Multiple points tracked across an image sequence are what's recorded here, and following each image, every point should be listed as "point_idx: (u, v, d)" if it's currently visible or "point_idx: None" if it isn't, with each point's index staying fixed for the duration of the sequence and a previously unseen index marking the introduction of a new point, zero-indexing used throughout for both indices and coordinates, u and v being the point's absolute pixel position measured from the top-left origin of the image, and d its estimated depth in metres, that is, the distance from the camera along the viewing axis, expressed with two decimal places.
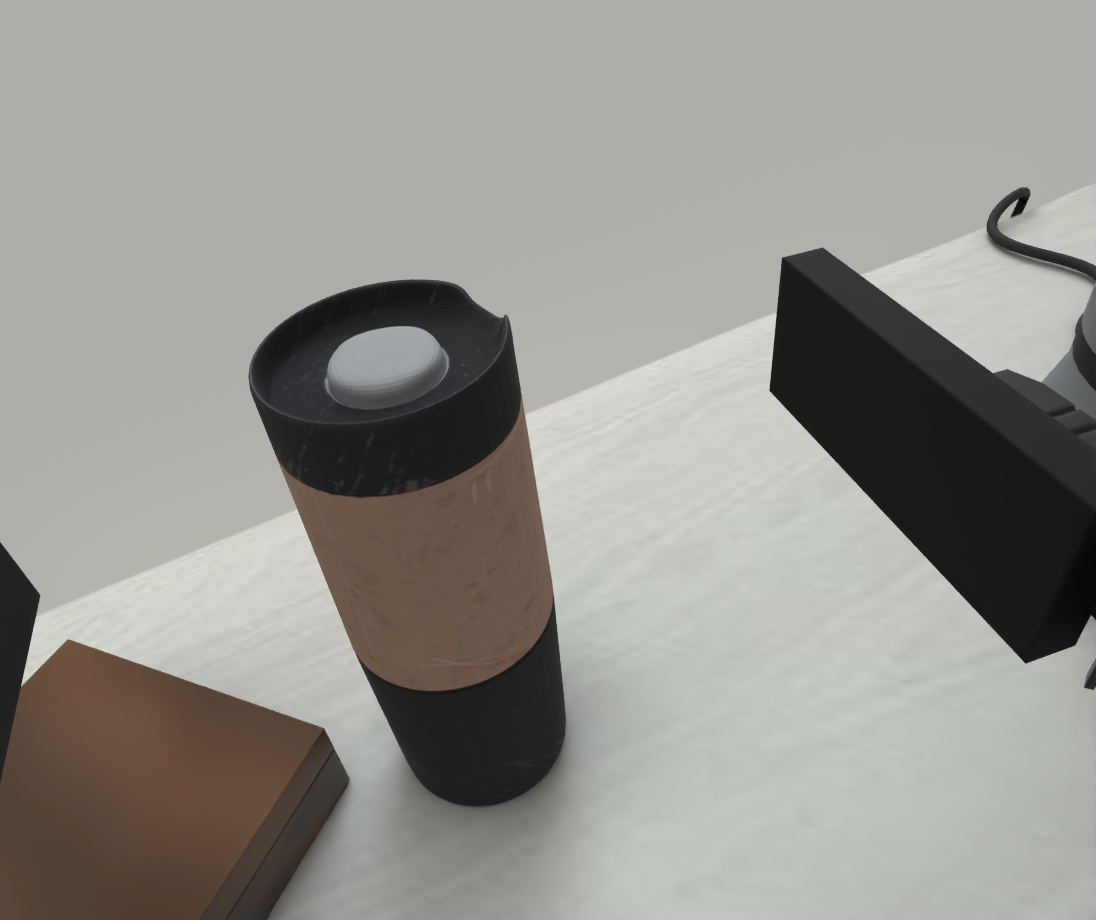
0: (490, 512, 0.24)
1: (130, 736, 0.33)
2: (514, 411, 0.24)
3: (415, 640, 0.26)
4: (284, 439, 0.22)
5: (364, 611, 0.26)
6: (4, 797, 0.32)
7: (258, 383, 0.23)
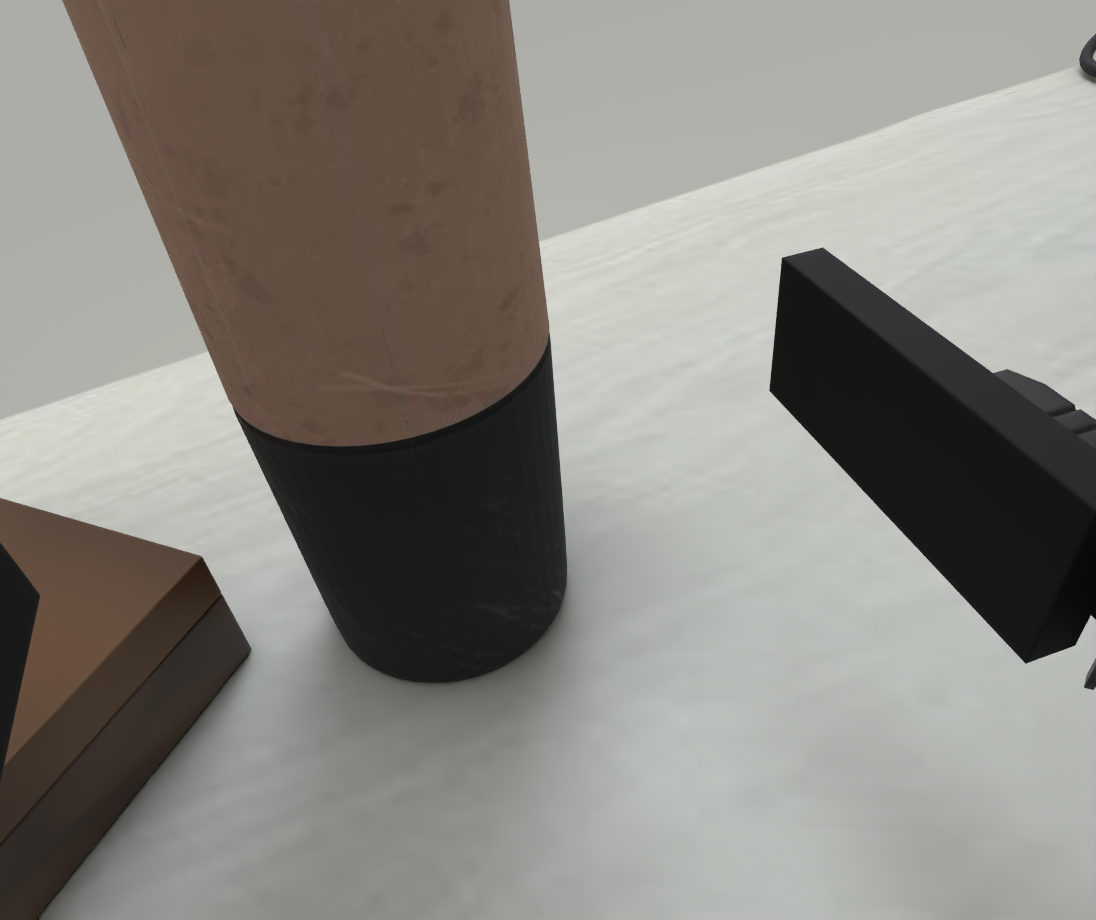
0: (432, 45, 0.13)
1: None
2: None
3: (308, 329, 0.15)
4: None
5: (218, 272, 0.15)
6: None
7: None
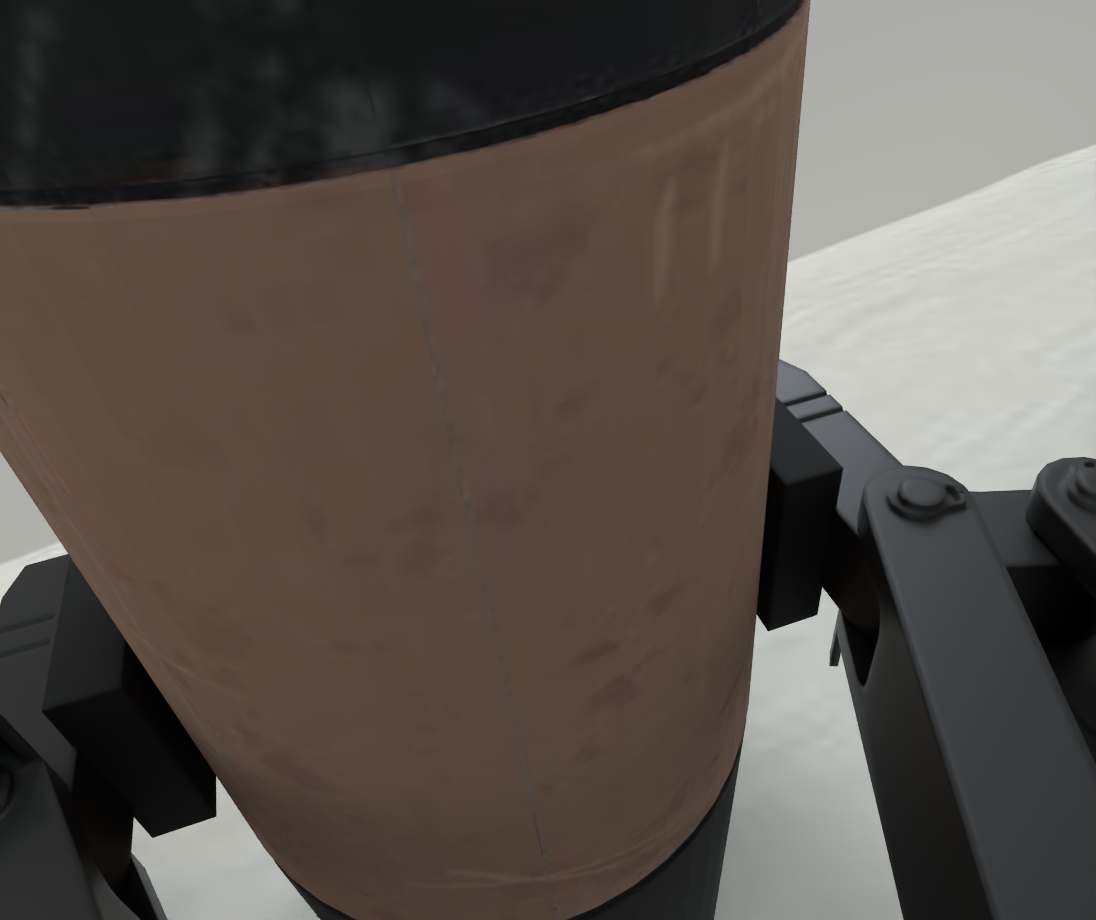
0: (701, 366, 0.06)
1: None
2: None
3: (395, 825, 0.08)
4: None
5: (222, 733, 0.08)
6: None
7: None
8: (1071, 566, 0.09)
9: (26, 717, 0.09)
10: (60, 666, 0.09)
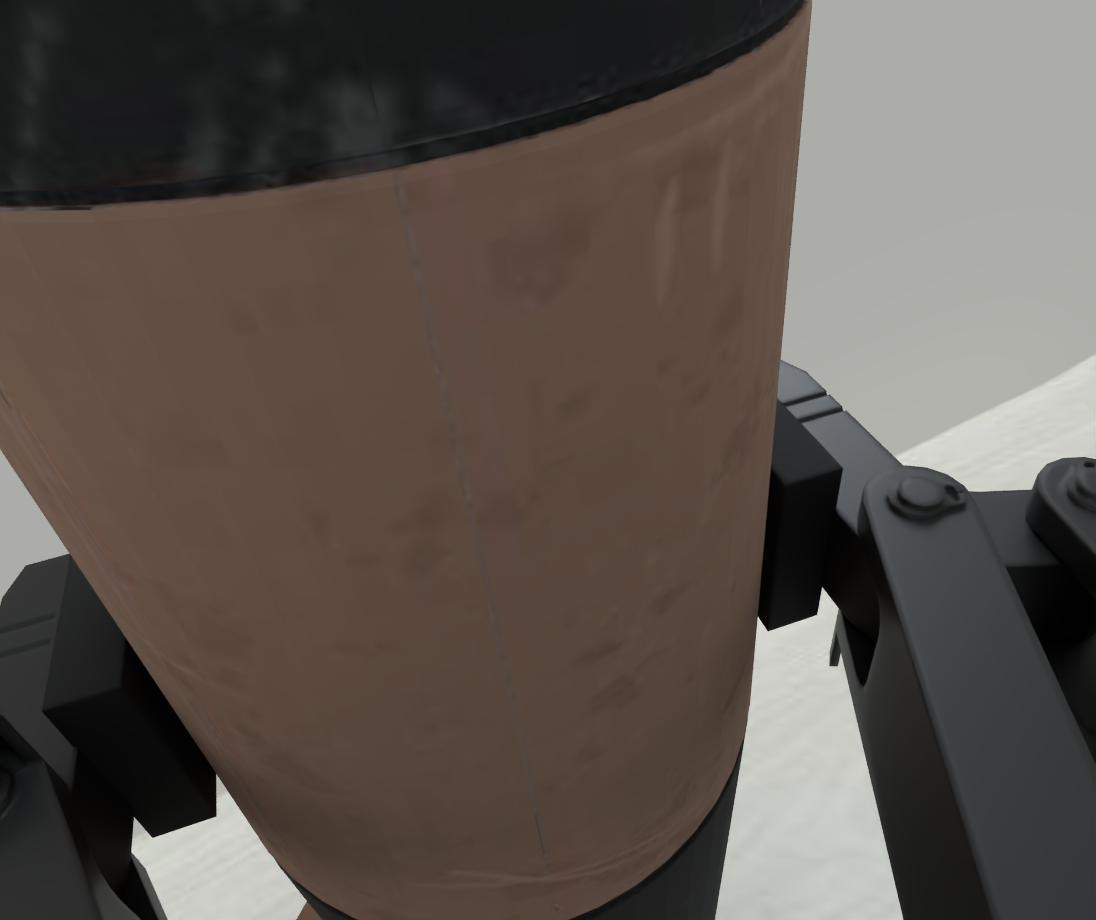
0: (702, 366, 0.06)
1: None
2: None
3: (397, 825, 0.08)
4: None
5: (224, 734, 0.08)
6: None
7: None
8: (1071, 566, 0.09)
9: (26, 717, 0.09)
10: (61, 665, 0.09)
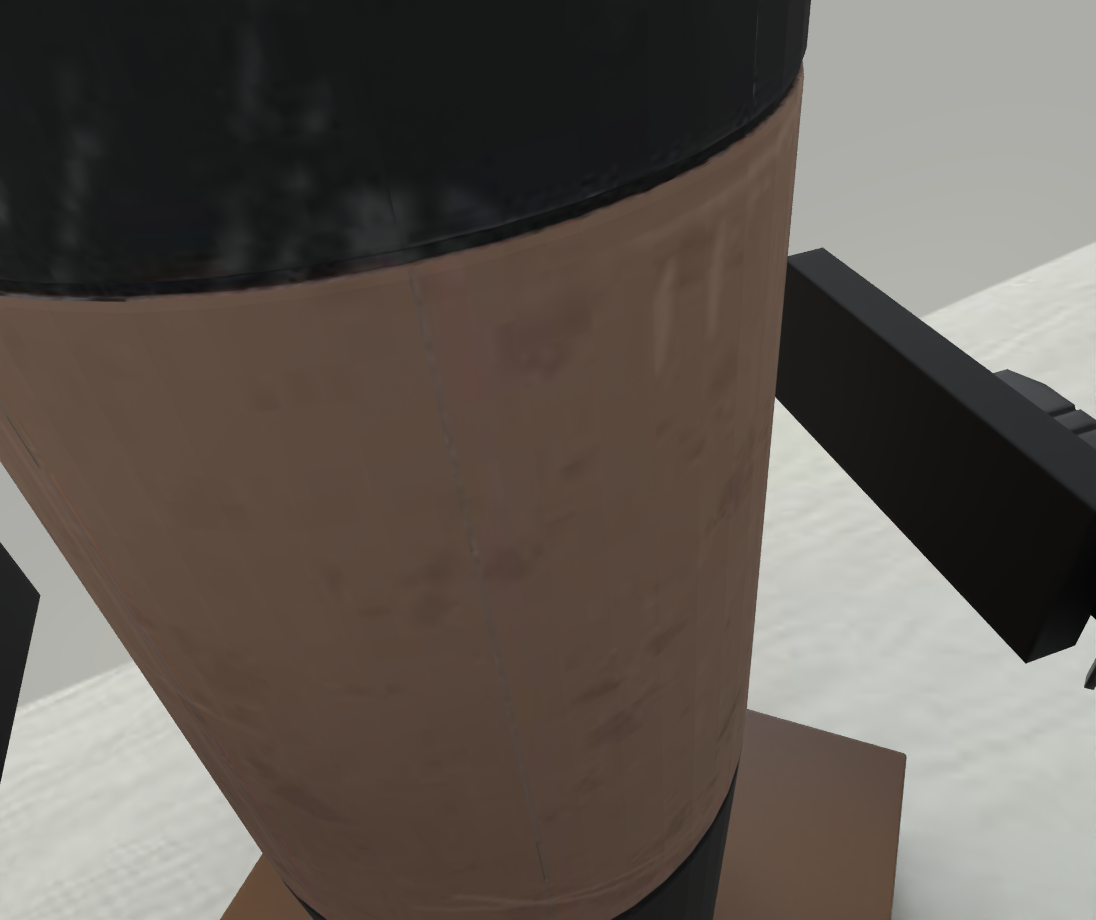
0: (699, 424, 0.06)
1: None
2: (809, 8, 0.06)
3: (403, 852, 0.08)
4: None
5: (238, 764, 0.08)
6: None
7: None
8: None
9: None
10: None
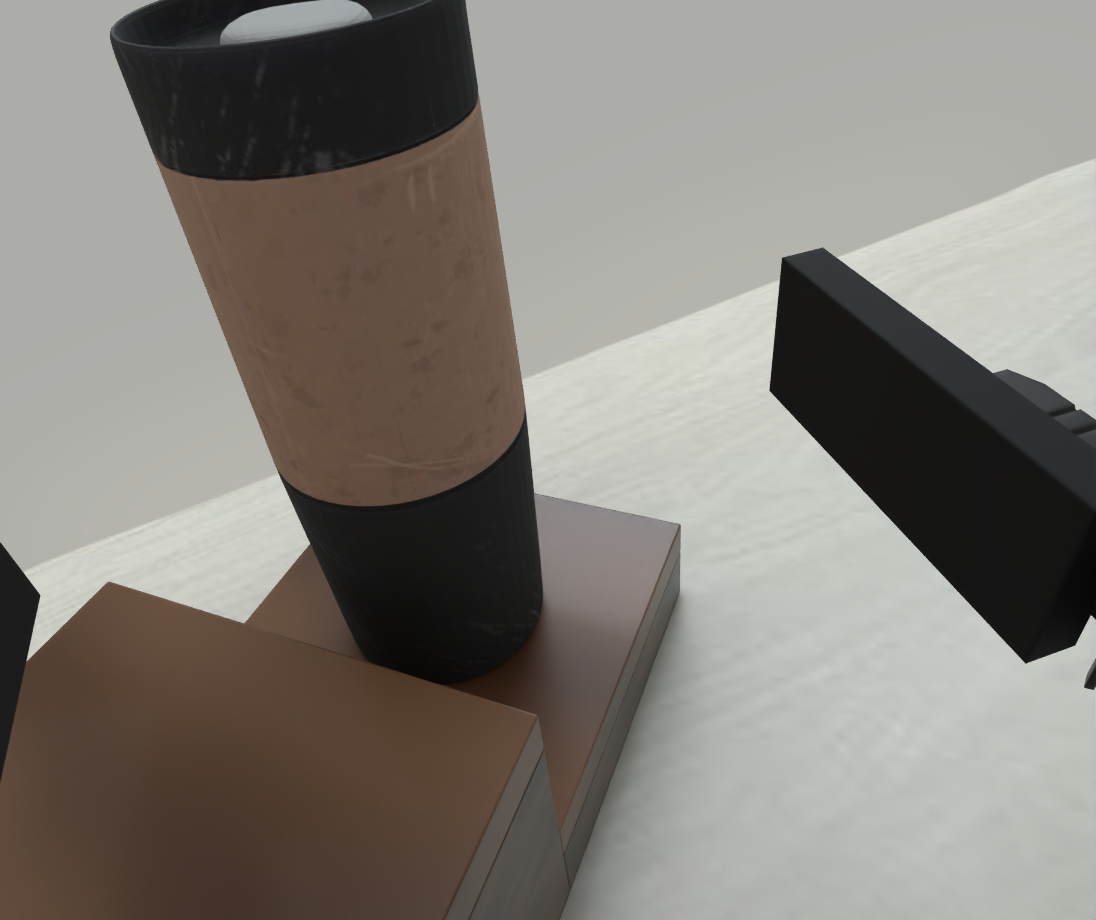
0: (435, 234, 0.18)
1: None
2: (466, 96, 0.18)
3: (343, 424, 0.20)
4: (150, 96, 0.16)
5: (277, 384, 0.20)
6: None
7: None
8: None
9: None
10: None
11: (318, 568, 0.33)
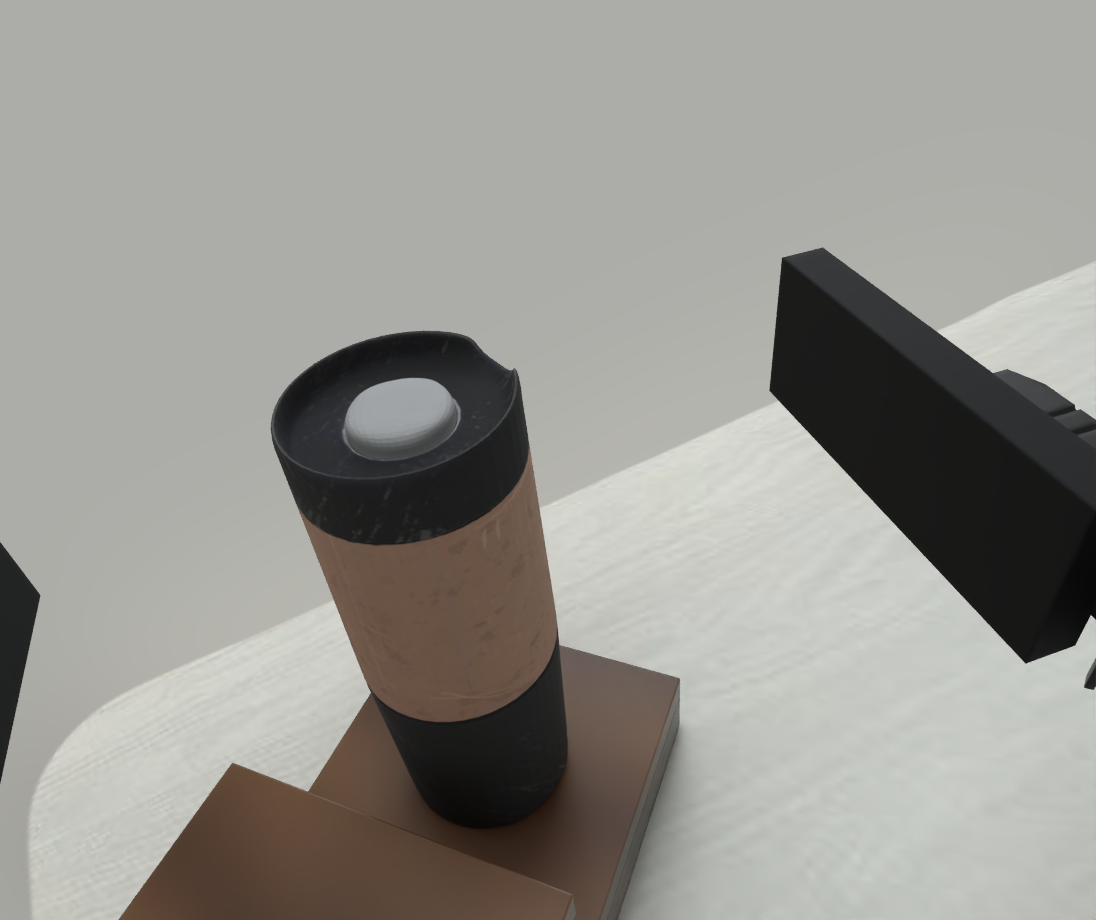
0: (499, 557, 0.25)
1: None
2: (522, 461, 0.25)
3: (426, 675, 0.27)
4: (305, 491, 0.23)
5: (378, 648, 0.27)
6: None
7: (279, 435, 0.24)
8: None
9: None
10: None
11: (381, 715, 0.40)
